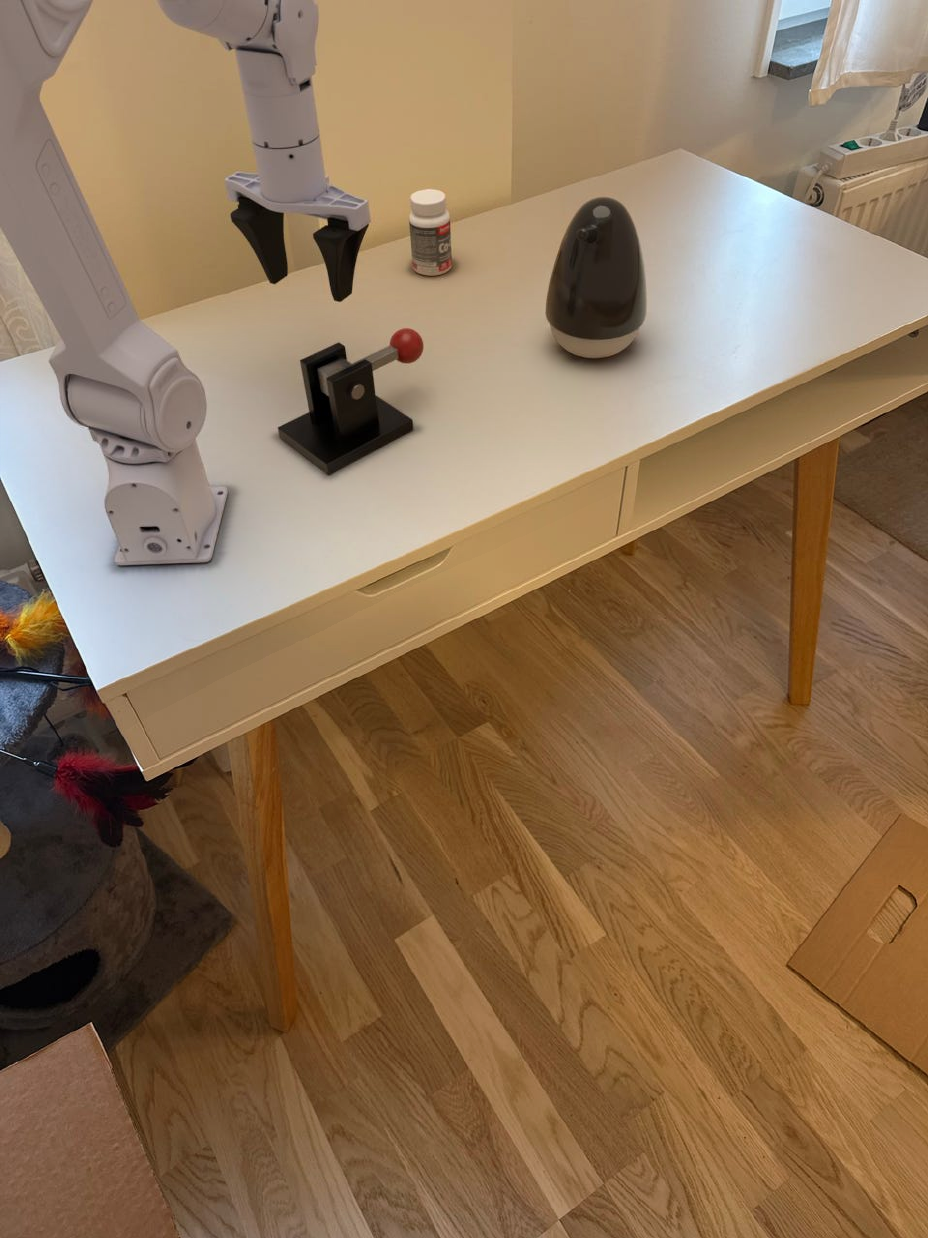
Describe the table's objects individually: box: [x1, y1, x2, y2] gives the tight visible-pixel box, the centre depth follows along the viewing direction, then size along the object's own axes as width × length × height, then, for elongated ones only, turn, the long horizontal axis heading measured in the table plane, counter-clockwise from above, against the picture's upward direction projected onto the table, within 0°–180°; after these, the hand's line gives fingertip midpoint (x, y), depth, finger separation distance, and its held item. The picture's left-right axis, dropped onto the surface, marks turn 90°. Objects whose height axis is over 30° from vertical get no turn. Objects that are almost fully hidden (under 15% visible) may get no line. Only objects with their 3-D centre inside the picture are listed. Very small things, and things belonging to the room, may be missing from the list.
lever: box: [317, 327, 425, 397], centre depth 86 cm, size 11×3×3 cm, turn 132°
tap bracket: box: [277, 341, 414, 476], centre depth 86 cm, size 10×8×8 cm
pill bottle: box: [408, 188, 453, 277], centre depth 108 cm, size 5×5×8 cm
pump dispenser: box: [545, 196, 648, 359], centre depth 92 cm, size 10×10×15 cm
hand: (310, 287), depth 89 cm, fingers open, 7 cm apart
